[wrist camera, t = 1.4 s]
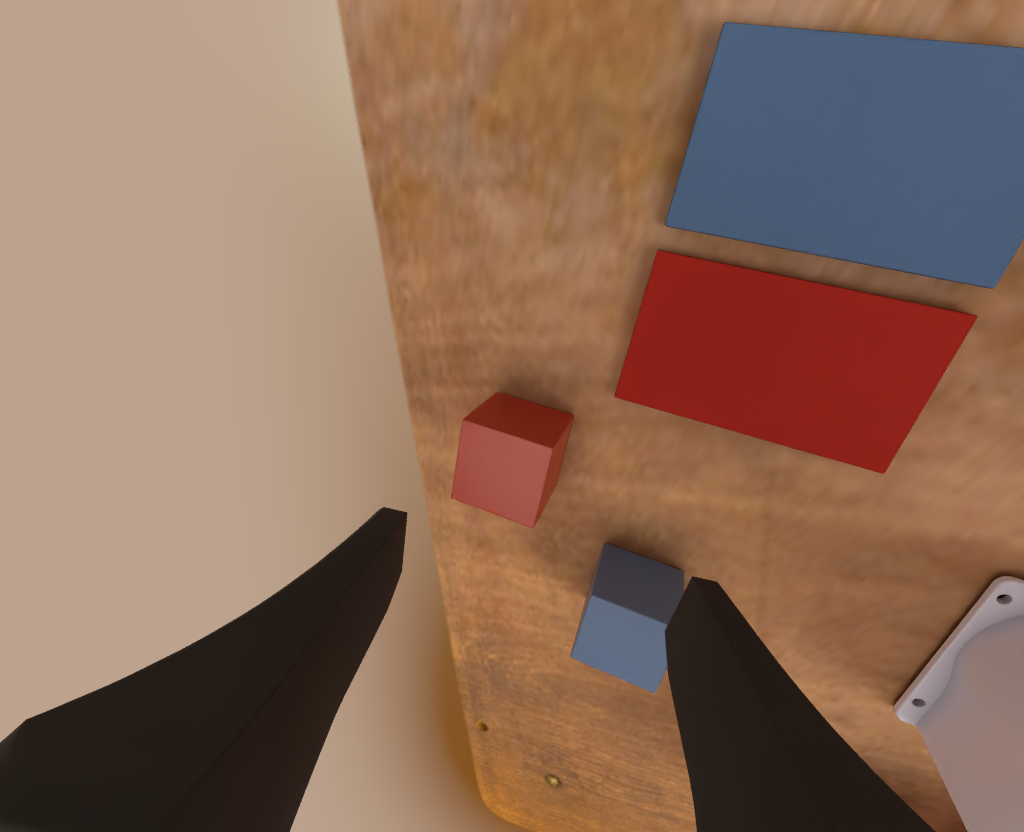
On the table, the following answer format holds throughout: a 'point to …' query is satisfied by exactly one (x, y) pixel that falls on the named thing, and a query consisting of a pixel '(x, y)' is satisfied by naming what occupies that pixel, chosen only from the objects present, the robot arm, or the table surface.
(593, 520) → the table surface
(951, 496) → the table surface
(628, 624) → the blue block
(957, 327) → the red mat
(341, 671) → the robot arm
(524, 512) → the red block
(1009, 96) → the blue mat
